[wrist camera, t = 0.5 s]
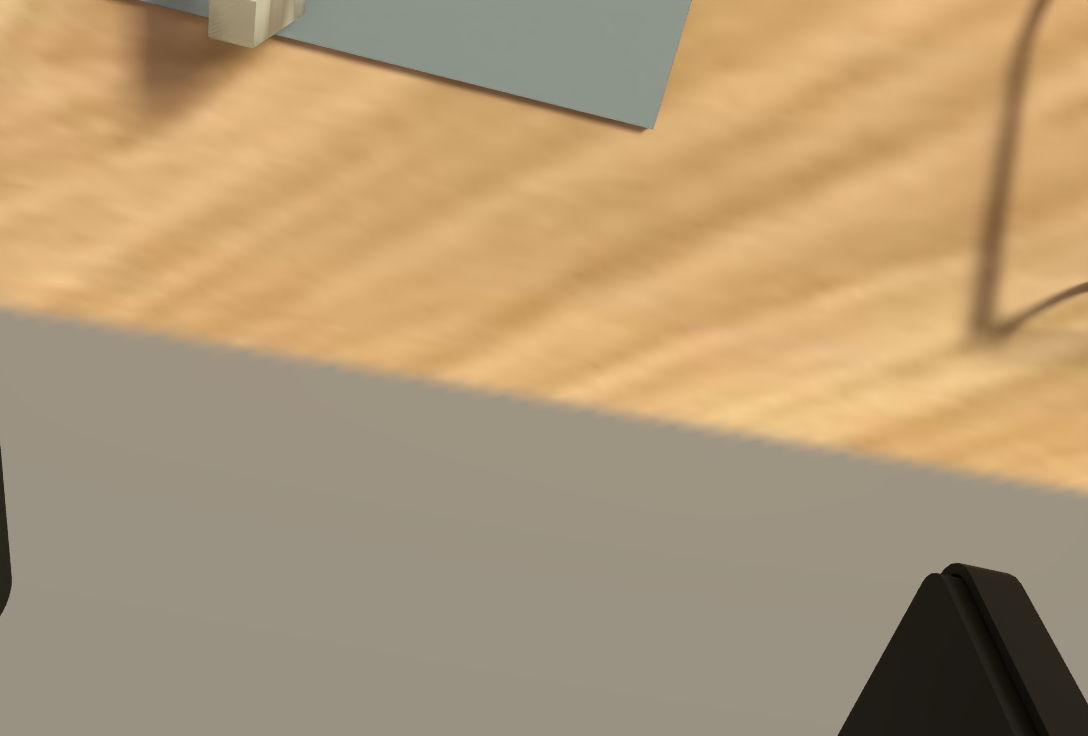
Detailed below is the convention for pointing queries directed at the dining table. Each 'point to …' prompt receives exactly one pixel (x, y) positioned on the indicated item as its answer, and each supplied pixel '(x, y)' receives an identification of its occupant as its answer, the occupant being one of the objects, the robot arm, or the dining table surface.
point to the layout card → (511, 45)
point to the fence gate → (251, 19)
